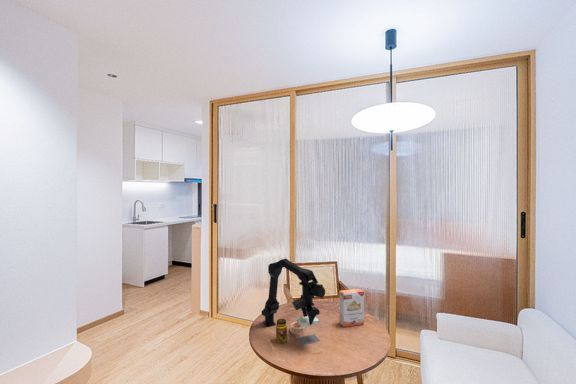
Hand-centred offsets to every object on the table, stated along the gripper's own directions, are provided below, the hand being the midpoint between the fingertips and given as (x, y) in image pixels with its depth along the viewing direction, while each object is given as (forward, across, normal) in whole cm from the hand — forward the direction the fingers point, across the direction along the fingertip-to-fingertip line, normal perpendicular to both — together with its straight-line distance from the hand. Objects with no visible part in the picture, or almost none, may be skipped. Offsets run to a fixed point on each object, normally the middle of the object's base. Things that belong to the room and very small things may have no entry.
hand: (307, 321), depth 158 cm
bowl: (+11, -11, -2) cm, 15 cm away
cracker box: (+11, -9, +33) cm, 36 cm away
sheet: (+1, 0, 0) cm, 1 cm away
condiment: (+11, -5, -14) cm, 19 cm away
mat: (+11, 0, 0) cm, 11 cm away
